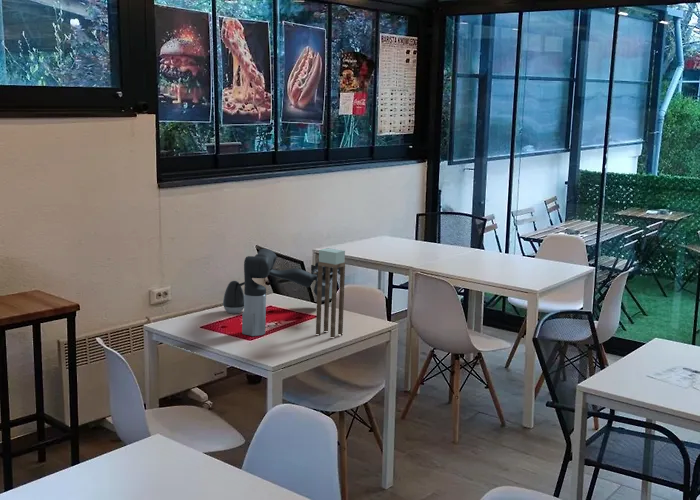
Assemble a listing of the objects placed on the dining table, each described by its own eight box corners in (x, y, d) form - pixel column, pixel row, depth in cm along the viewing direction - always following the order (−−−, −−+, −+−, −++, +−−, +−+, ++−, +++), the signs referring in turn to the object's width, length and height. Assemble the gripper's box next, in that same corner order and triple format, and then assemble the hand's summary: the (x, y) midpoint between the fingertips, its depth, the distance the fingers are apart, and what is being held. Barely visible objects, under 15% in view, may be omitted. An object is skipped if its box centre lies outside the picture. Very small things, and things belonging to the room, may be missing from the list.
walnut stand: (332, 339, 332) (335, 264, 327) (315, 335, 337) (318, 261, 331) (342, 335, 338) (345, 262, 332) (325, 331, 343) (327, 259, 337)
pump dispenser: (247, 314, 367) (248, 282, 364) (225, 315, 363) (226, 283, 360) (242, 309, 376) (242, 277, 373) (220, 310, 372) (221, 278, 369)
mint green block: (335, 264, 327) (335, 252, 326) (307, 259, 335) (307, 248, 334) (356, 259, 339) (356, 248, 339) (328, 255, 348) (328, 244, 347)
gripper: (309, 267, 369) (311, 256, 354) (340, 268, 371) (343, 256, 356) (309, 283, 367) (311, 272, 352) (340, 283, 368) (343, 272, 353)
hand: (327, 264), depth 354 cm, fingers open, 8 cm apart
